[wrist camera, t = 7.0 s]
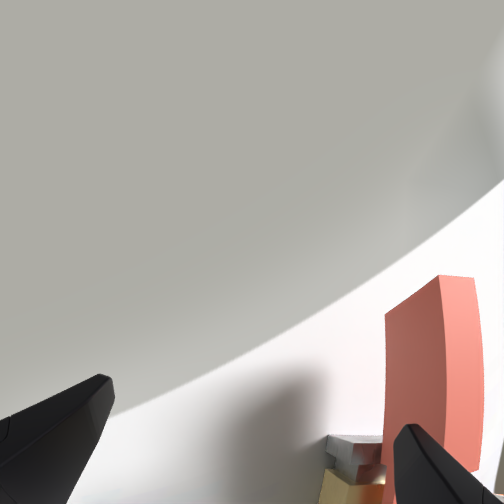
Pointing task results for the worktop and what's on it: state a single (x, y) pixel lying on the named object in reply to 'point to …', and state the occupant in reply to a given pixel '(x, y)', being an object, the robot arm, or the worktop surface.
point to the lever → (435, 372)
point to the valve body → (354, 471)
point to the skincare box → (500, 497)
